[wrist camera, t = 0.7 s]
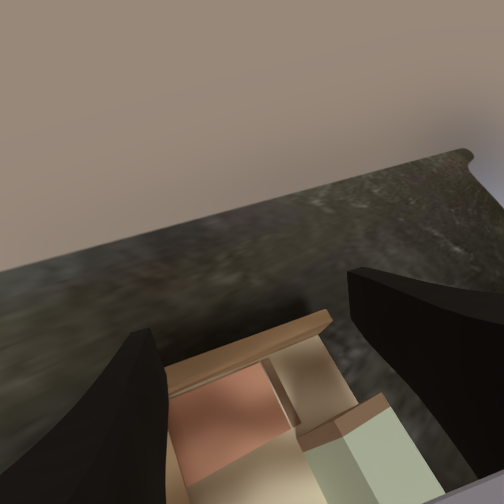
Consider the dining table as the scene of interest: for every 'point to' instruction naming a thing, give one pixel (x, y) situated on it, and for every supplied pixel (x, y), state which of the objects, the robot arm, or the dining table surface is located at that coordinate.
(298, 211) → the dining table surface
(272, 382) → the corner arena
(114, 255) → the dining table surface
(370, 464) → the sage block
